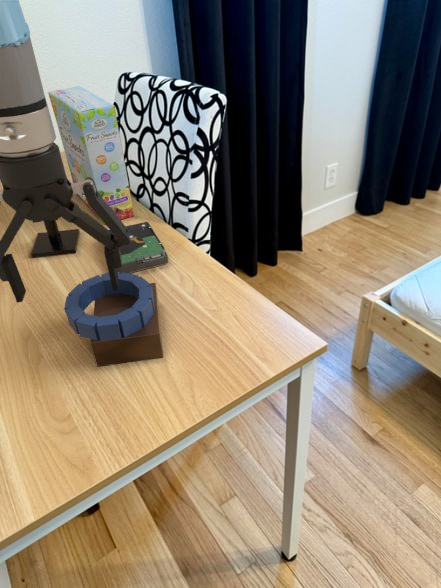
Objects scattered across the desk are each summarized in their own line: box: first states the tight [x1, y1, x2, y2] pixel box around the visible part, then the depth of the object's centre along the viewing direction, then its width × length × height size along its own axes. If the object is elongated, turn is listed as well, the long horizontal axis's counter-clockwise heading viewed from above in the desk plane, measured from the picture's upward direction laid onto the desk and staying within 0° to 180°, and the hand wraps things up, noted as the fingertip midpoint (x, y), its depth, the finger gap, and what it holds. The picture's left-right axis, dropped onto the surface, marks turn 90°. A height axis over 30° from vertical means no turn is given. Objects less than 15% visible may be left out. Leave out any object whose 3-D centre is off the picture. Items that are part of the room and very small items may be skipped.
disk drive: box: [108, 221, 169, 274], centre depth 89 cm, size 10×3×15 cm
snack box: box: [47, 85, 136, 226], centre depth 101 cm, size 22×9×26 cm, turn 33°
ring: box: [63, 271, 155, 341], centre depth 66 cm, size 13×13×3 cm
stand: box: [89, 282, 164, 367], centre depth 69 cm, size 10×13×5 cm
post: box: [30, 220, 81, 259], centre depth 90 cm, size 9×9×13 cm
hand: (69, 290), depth 63 cm, fingers open, 13 cm apart
